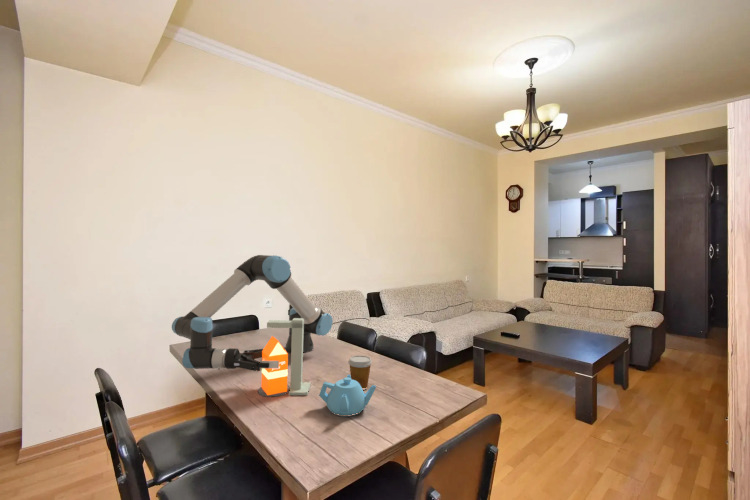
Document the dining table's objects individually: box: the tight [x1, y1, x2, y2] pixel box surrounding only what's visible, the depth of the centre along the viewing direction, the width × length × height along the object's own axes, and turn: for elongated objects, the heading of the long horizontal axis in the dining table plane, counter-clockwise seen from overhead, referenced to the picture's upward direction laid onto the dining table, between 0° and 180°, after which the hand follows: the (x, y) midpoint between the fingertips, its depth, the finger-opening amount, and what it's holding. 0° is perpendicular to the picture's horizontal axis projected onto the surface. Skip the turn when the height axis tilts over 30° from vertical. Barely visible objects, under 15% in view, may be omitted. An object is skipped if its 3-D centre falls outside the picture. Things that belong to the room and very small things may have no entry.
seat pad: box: [257, 384, 290, 398], centre depth 136 cm, size 12×12×1 cm
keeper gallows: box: [266, 318, 311, 396], centre depth 137 cm, size 16×10×28 cm, turn 94°
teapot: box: [318, 374, 377, 415], centre depth 123 cm, size 15×15×11 cm
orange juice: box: [260, 335, 289, 395], centre depth 136 cm, size 8×9×20 cm
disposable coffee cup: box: [347, 354, 373, 388], centre depth 141 cm, size 10×10×12 cm
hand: (282, 358), depth 137 cm, fingers open, 13 cm apart
